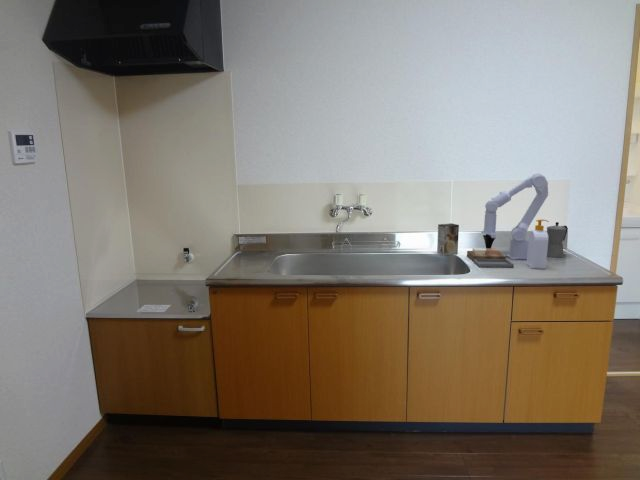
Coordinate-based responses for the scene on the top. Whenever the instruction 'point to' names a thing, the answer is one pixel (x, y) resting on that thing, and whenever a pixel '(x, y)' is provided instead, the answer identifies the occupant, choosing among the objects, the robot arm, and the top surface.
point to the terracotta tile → (492, 251)
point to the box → (493, 263)
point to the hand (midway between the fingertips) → (488, 248)
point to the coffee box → (447, 239)
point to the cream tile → (478, 251)
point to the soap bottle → (537, 247)
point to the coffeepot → (556, 240)
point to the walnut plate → (484, 256)
